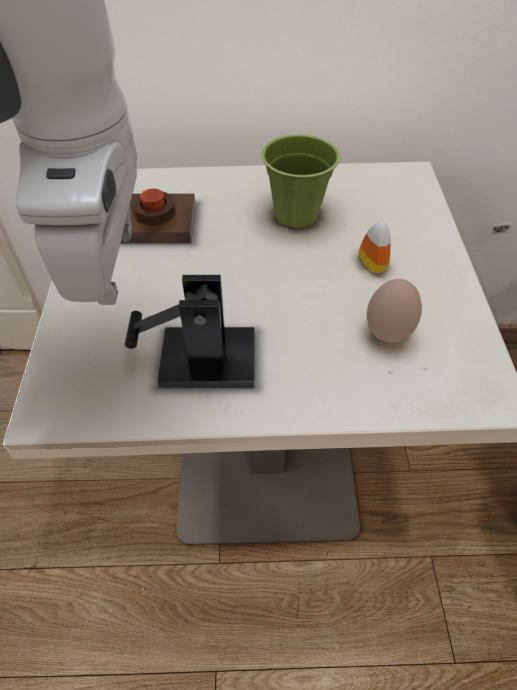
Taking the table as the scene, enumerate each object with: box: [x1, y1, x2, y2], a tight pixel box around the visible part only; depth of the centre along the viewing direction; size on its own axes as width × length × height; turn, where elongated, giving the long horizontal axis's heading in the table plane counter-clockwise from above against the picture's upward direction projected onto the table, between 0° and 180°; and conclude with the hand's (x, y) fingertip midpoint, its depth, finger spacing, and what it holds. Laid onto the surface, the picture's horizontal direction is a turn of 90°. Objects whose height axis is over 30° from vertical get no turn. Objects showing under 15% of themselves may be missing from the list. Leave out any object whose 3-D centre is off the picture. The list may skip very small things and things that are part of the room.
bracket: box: [157, 274, 255, 388], centre depth 63 cm, size 12×9×13 cm
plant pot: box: [261, 133, 341, 229], centre depth 82 cm, size 12×12×11 cm
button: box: [140, 187, 165, 211], centre depth 81 cm, size 4×4×2 cm
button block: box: [120, 190, 197, 244], centre depth 83 cm, size 12×10×4 cm
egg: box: [366, 278, 423, 343], centre depth 66 cm, size 7×7×10 cm
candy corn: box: [358, 220, 392, 274], centre depth 76 cm, size 6×3×8 cm, turn 25°
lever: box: [124, 284, 218, 350], centre depth 61 cm, size 12×5×2 cm, turn 90°
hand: (117, 267), depth 54 cm, fingers open, 8 cm apart
